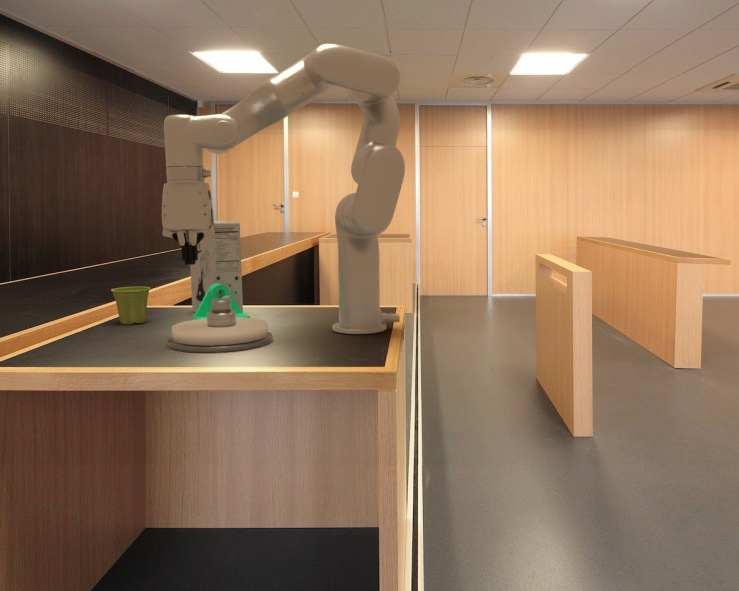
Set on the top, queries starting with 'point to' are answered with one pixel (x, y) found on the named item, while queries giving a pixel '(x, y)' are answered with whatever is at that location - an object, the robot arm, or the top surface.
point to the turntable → (219, 332)
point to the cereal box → (218, 263)
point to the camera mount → (211, 294)
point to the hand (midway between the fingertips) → (190, 264)
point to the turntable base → (220, 346)
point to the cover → (221, 314)
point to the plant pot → (131, 304)
